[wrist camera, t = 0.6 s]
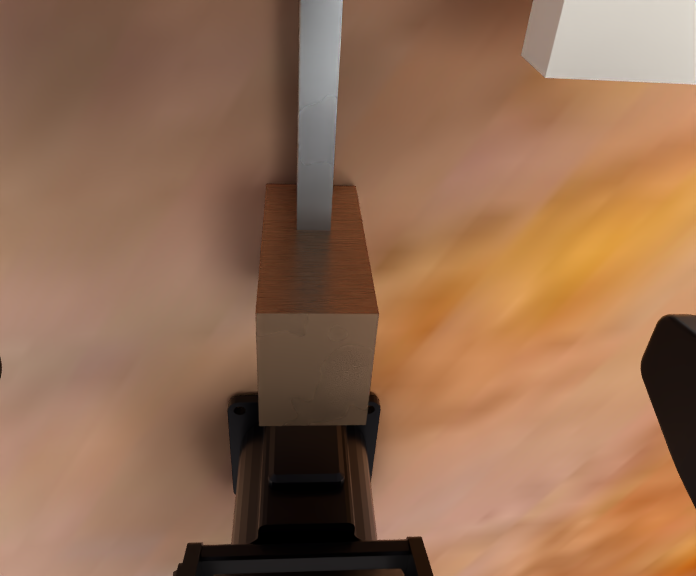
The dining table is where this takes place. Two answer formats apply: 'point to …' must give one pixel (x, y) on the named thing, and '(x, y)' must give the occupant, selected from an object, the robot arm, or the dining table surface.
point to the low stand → (613, 40)
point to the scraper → (315, 260)
